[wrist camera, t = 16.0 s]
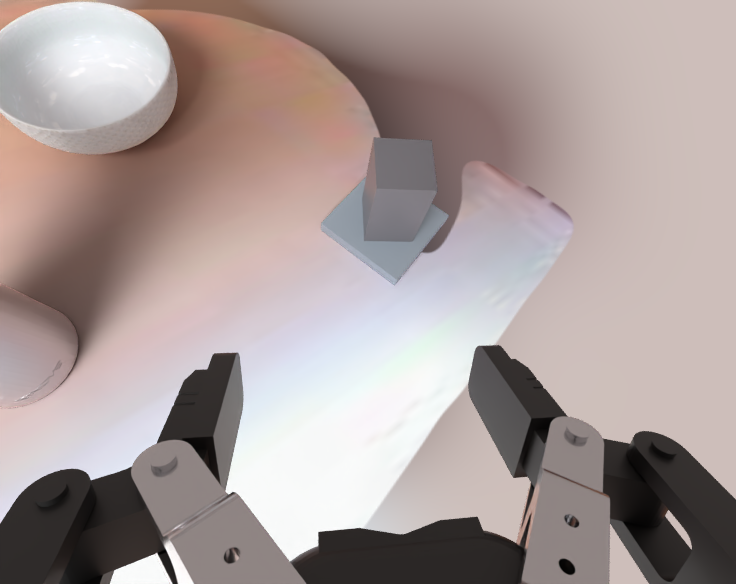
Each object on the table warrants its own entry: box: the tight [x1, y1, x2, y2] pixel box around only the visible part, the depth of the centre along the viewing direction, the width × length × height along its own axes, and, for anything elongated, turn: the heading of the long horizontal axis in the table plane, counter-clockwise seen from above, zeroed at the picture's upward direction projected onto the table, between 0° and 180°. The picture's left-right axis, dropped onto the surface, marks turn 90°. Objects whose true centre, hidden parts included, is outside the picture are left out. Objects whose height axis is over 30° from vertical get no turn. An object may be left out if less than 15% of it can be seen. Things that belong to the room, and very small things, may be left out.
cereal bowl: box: [0, 2, 178, 155], centre depth 42 cm, size 17×17×7 cm
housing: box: [362, 138, 438, 242], centre depth 38 cm, size 5×5×10 cm
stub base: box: [321, 177, 449, 285], centre depth 41 cm, size 10×10×6 cm
